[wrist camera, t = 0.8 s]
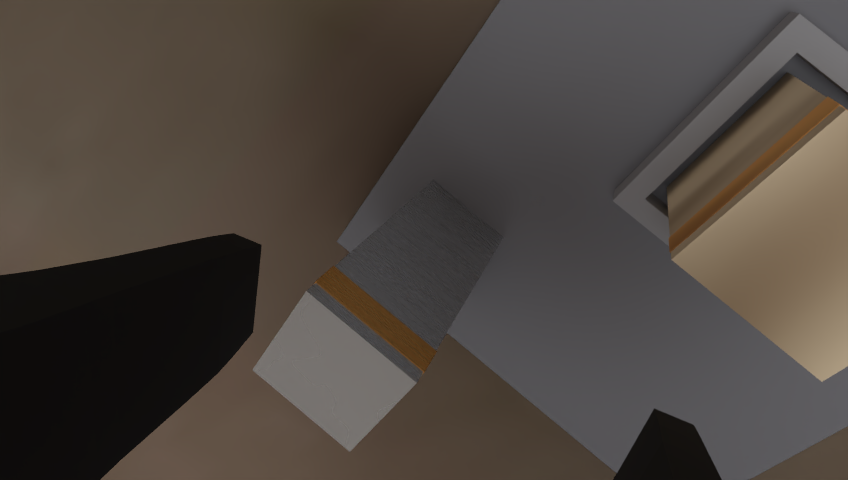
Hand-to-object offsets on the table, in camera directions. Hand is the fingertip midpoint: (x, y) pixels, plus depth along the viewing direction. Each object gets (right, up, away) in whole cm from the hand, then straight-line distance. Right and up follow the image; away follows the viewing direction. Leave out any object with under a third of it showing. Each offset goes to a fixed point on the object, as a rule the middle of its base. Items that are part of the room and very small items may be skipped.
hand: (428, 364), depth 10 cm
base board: (+7, +3, +8) cm, 11 cm away
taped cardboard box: (+9, +4, +5) cm, 11 cm away
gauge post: (+1, +2, +10) cm, 10 cm away
